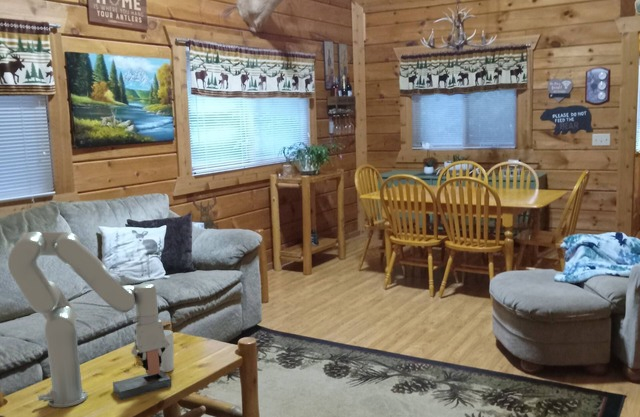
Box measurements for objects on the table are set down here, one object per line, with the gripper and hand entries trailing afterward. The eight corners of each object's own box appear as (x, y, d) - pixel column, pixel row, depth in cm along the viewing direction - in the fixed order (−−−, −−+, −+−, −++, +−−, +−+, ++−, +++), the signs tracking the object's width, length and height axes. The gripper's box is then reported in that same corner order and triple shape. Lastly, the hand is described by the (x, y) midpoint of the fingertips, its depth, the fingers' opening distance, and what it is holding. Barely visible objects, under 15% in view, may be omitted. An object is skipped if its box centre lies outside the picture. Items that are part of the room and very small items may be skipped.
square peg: (149, 375, 224) (146, 351, 223) (145, 372, 227) (143, 348, 226) (160, 372, 226) (157, 349, 225) (156, 369, 229) (154, 346, 228)
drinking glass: (171, 373, 237) (168, 336, 235) (154, 373, 238) (151, 335, 236) (178, 367, 244) (175, 330, 242) (162, 366, 245) (159, 329, 243)
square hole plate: (121, 400, 216) (120, 391, 215) (113, 390, 224) (112, 382, 224) (171, 386, 226) (170, 378, 225) (162, 377, 234) (161, 370, 234)
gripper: (127, 326, 216) (132, 376, 219) (173, 316, 225) (178, 364, 228) (121, 321, 222) (126, 370, 225) (166, 311, 231) (170, 358, 234)
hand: (152, 366), depth 226 cm, fingers closed on square peg, 4 cm apart
